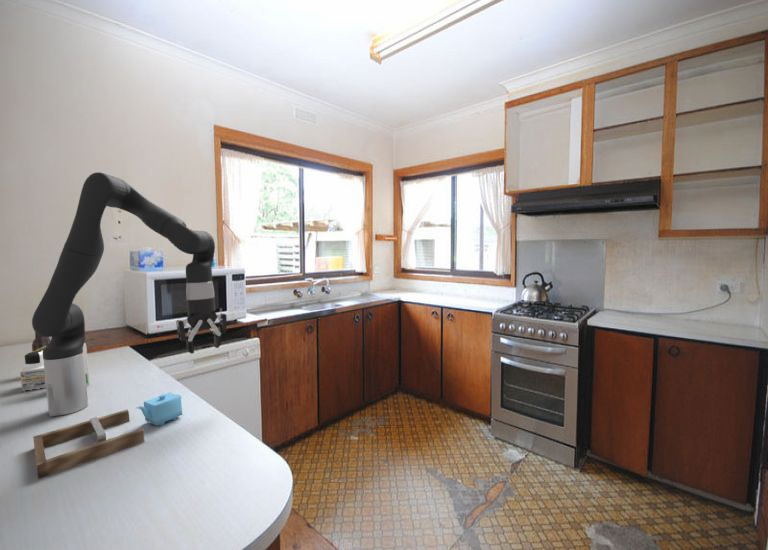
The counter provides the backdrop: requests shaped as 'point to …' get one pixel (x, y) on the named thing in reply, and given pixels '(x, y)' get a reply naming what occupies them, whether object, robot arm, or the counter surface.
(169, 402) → the teapot
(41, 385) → the container
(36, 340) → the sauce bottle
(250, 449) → the counter surface
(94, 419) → the stop plate
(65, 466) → the bracket
